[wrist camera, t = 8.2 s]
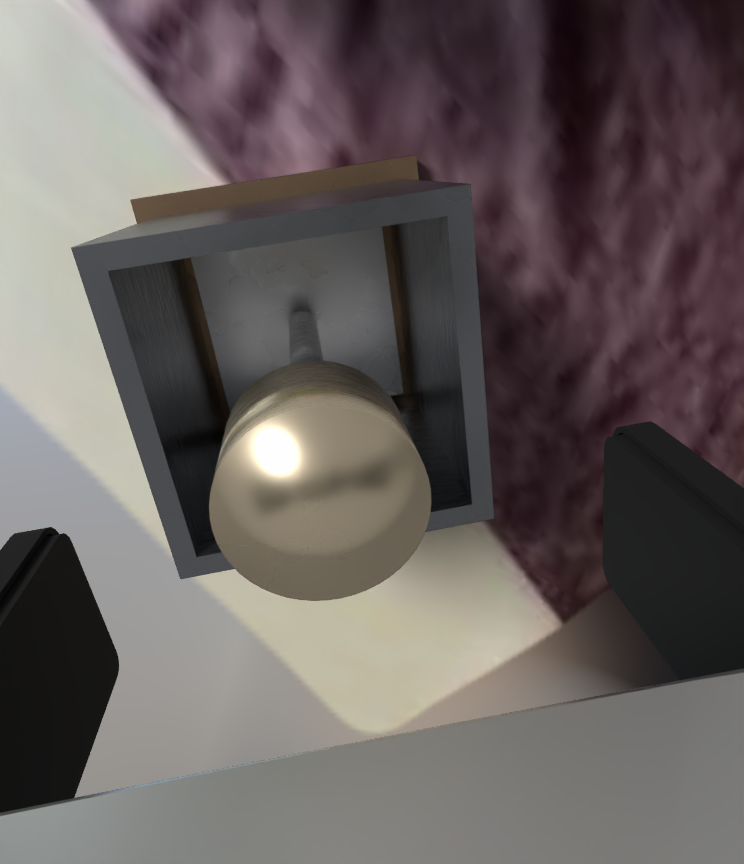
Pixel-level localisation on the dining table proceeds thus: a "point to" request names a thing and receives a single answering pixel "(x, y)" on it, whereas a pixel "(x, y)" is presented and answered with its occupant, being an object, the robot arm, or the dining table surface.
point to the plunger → (311, 417)
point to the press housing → (194, 353)
